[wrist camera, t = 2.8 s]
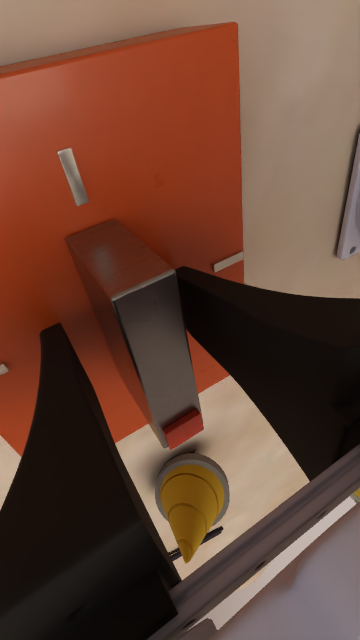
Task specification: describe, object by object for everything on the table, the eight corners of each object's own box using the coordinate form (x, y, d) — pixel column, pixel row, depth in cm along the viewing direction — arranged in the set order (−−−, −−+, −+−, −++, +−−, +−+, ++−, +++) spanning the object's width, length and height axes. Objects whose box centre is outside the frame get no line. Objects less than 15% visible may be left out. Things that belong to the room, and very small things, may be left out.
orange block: (-232, 115, 8) (-292, 138, 6) (181, 27, 11) (243, 20, 9) (32, 433, 17) (47, 487, 15) (214, 334, 20) (248, 367, 18)
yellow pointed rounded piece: (159, 495, 29) (134, 601, 19) (164, 433, 28) (141, 509, 18) (223, 503, 28) (232, 616, 19) (229, 441, 28) (241, 522, 18)
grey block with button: (63, 236, 10) (115, 304, 7) (115, 217, 10) (182, 274, 7) (122, 380, 14) (168, 456, 11) (156, 362, 14) (208, 430, 12)
